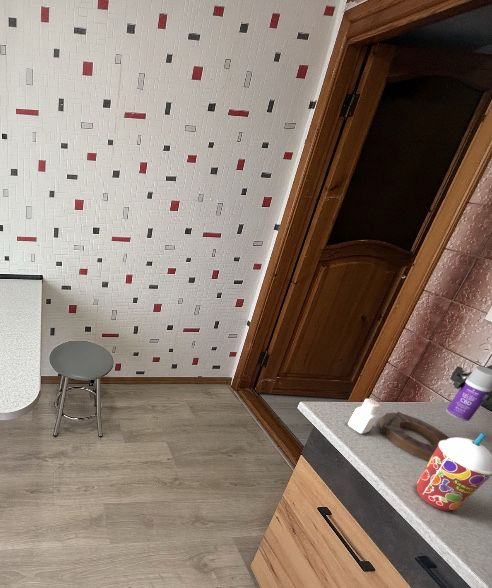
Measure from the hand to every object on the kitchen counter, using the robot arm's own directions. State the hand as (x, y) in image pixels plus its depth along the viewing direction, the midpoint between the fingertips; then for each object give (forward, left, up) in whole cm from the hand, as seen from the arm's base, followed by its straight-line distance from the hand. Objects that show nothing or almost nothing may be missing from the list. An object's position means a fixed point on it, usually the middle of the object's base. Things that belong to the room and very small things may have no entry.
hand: (471, 391), depth 87 cm
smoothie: (-5, +29, -16) cm, 34 cm away
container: (0, -3, -9) cm, 10 cm away
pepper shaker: (+13, +19, -16) cm, 28 cm away
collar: (+3, +9, -16) cm, 19 cm away
